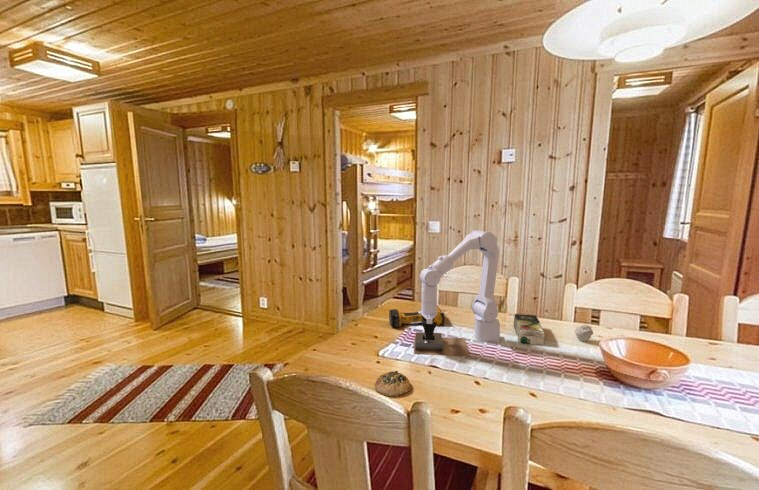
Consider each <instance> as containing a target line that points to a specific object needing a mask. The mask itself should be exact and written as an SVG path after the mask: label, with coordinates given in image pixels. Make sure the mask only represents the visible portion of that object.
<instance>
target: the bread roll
mask: <svg viewBox="0 0 759 490" xmlns="http://www.w3.org/2000/svg"><path fill="white" fill-rule="evenodd" d="M374 388H375V392H376V393H377V394H379V393H381V394H383V395H382V396H386V397H397V396H400V395H403V394H406V393H408V392H410V390H411V389H412V387H411V383H410V380H409V379H408V377H407V376H406V375H404V374H403V373H400V372H399V370H395V371H394V370H393V371H389V372H386V373H383V374H381V375H379V377H378V378H377V379H376V381H375V384H374ZM381 394H380V395H381Z"/></svg>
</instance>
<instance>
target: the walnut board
mask: <svg viewBox="0 0 759 490" xmlns="http://www.w3.org/2000/svg"><path fill="white" fill-rule="evenodd" d="M415 336H416V335H414V339H413V340H414V341H413V355H423V356H425V355H426V356H427V355H429V356H450V357H452V356H453V357H471V354H470V350H469V348H468V345H467V342H466V338H465V337H443V336H442V341H443V352H442V351H418V350H415Z"/></svg>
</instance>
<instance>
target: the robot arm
mask: <svg viewBox="0 0 759 490" xmlns="http://www.w3.org/2000/svg"><path fill="white" fill-rule="evenodd" d="M497 242H498V237H497V236H496V235H495V234H494V233H493V232H491V231H484V230H483V231H482V230H478V229H474V230H471V232H469V233H468V234H466V235H465V237H464V239H463V240H462V241H461V242H460V243H459V244H457V246H455V247H454V249H452V251H450V253H448V254H447V255H446V254H444V255H439V256H438V257H437V260H435V261H434V262H433V263H432V264H429V265H428V267H427V268H424V269H422V270H421V272H420V274H419V275H418V279H419V281H420V282H421V295H420V296H421V297H420V299H421V308H420V309H421V310H418V311H417V312H418V314H421V315H422V317H423V320H424V321H421V325H422V327H423V331H424V333H425V337H426V340H432V338H433V333H435V329H436V327H437V326H436V325H437V322H433V321H434V318H435V316H436V315H437V305H438V284H439V283H440V281H441V278H443V276H444V275H445V274H446V273H448V272H449V271H450V270H451V269H453V268H454V266H455V265H454V263H455V262H456V261H457V260H459V259H460V258H461V257H462V256H464V255H465V254H467V252H469V251H470V250H479V251H480V252H481V254H482V255H483V260H482V269H481V275H480V284H479V290H478V294H476V296H474V301H473V303H472V305H471V311H472V313H473V314H474V330H473V331H474V335H473V336H474V340H476V341H479V342H481V343H482V342H484V343H488V342H489V343H490V342H500V335H501V326H500V325H501V324H500V321H499V319H497V317H498V315H499V311H498V308H497V306H498V302H497V300H496V299H495V296H494V293H495V287H496V286H495V285H496V280H497V279H496V278H497V273H498V272H497V270H498V262H499V255H500V249H499V246H498V243H497Z"/></svg>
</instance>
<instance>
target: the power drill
mask: <svg viewBox="0 0 759 490" xmlns="http://www.w3.org/2000/svg"><path fill="white" fill-rule="evenodd" d="M388 315H389V316H388V319H389V321H388V322H389V324H390V326H391V327H392V328H399V327H402V324H411V323H420V322H421V323H422V321H424V320H423V317H422V315H421V314H418V311H416V312H401V311H400V310H399V309H397V308H396V309H395V308H392V309H389V310H388ZM433 322H437V325H436V327H441V328H442V327H445V311H442V309H441V308H440V307H439V305H438V304H437V315H436V316H435V318H434V321H433Z"/></svg>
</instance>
